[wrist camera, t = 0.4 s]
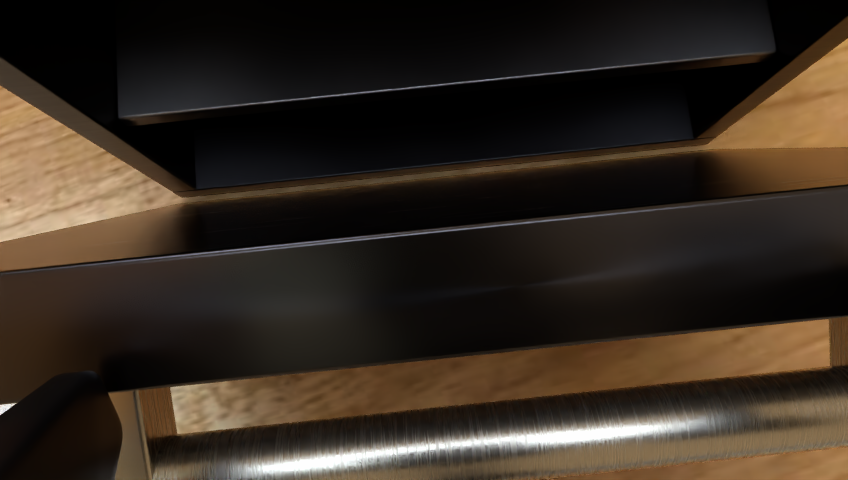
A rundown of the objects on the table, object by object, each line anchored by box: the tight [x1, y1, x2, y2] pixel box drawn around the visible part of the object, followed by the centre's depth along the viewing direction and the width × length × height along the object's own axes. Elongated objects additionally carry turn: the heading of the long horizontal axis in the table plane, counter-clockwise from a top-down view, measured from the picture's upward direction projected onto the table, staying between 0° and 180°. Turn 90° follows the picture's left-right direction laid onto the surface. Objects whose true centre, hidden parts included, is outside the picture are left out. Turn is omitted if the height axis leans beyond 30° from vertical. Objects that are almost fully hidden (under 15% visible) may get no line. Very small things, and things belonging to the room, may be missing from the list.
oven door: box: [0, 147, 848, 480], centre depth 15 cm, size 4×18×15 cm, turn 96°
